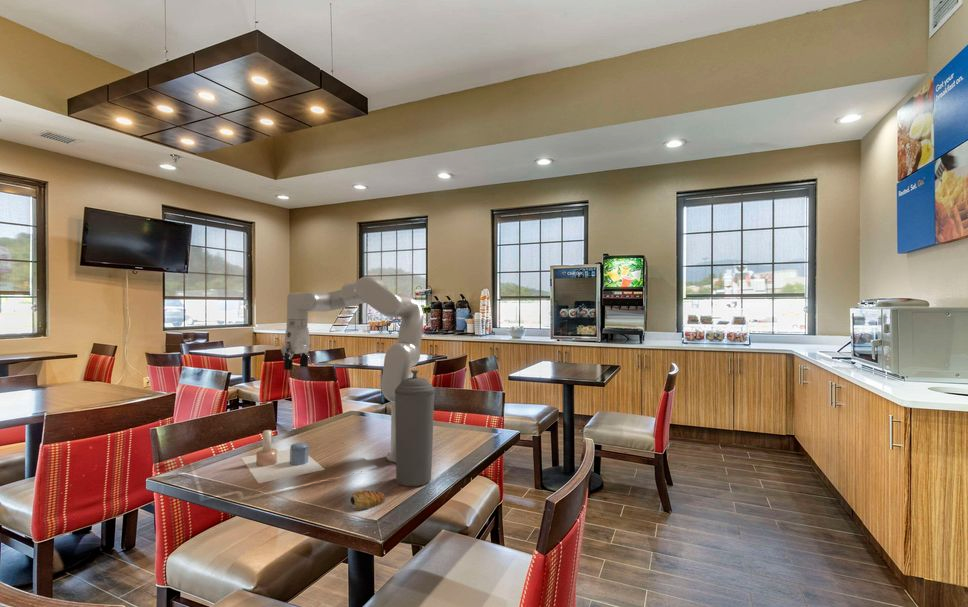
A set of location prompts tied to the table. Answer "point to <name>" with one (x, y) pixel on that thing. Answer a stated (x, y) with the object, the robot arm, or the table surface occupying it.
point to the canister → (414, 430)
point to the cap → (299, 454)
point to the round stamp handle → (266, 451)
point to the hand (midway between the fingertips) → (296, 368)
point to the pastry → (366, 499)
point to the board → (279, 467)
